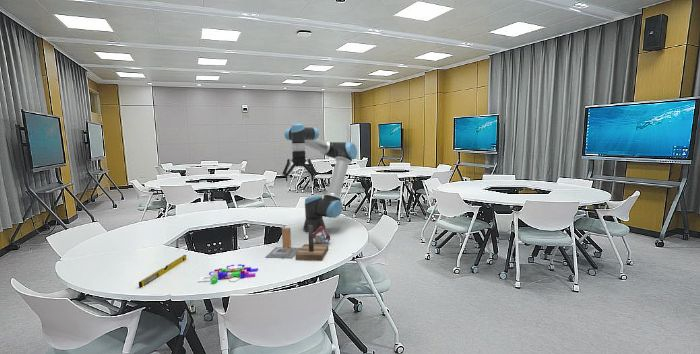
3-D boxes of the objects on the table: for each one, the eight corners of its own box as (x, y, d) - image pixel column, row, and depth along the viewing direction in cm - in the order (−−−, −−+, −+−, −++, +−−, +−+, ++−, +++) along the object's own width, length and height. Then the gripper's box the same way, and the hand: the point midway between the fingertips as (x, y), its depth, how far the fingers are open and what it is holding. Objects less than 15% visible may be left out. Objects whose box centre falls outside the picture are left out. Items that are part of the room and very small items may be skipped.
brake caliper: (334, 237, 207) (329, 225, 199) (329, 252, 199) (324, 240, 191) (317, 236, 210) (311, 224, 202) (311, 251, 203) (306, 239, 195)
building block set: (259, 265, 173) (259, 256, 172) (253, 282, 153) (253, 272, 152) (208, 268, 170) (208, 260, 169) (195, 286, 149) (194, 276, 149)
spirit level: (184, 260, 181) (183, 254, 181) (186, 260, 181) (186, 254, 181) (139, 288, 148) (138, 281, 148) (142, 288, 148) (141, 281, 148)
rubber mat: (275, 247, 197) (275, 247, 197) (300, 248, 195) (300, 247, 195) (265, 257, 182) (265, 256, 181) (292, 258, 179) (292, 257, 179)
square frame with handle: (280, 247, 196) (279, 227, 195) (295, 247, 195) (294, 227, 194) (271, 256, 183) (270, 234, 181) (287, 256, 181) (286, 234, 180)
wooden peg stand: (304, 249, 194) (303, 220, 192) (328, 249, 192) (327, 220, 190) (295, 260, 177) (294, 228, 175) (321, 260, 175) (320, 228, 173)
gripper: (275, 151, 195) (277, 187, 198) (318, 150, 192) (319, 187, 194) (280, 150, 203) (282, 185, 205) (321, 149, 199) (322, 185, 202)
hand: (300, 186), depth 200 cm, fingers open, 13 cm apart
